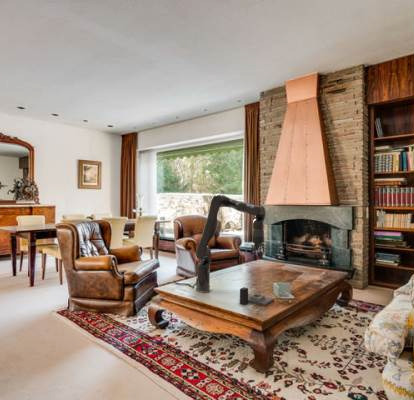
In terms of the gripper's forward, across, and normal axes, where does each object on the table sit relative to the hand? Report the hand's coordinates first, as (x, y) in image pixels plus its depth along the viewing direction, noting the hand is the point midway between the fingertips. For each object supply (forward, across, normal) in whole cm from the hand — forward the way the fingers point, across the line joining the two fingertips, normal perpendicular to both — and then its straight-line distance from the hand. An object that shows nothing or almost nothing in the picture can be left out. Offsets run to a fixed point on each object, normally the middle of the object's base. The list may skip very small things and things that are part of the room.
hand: (258, 259), depth 207 cm
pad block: (+29, +6, -7) cm, 31 cm away
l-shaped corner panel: (+30, -28, +7) cm, 41 cm away
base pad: (+29, -5, -3) cm, 30 cm away
